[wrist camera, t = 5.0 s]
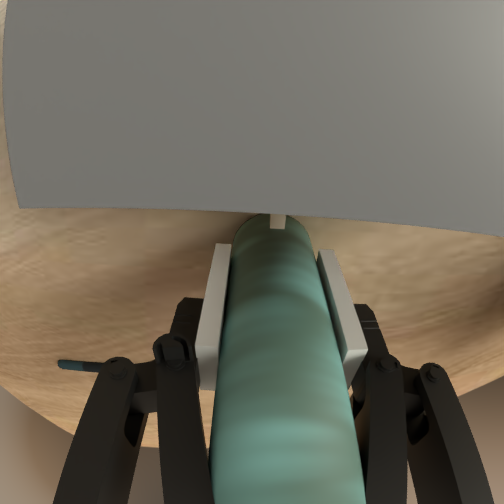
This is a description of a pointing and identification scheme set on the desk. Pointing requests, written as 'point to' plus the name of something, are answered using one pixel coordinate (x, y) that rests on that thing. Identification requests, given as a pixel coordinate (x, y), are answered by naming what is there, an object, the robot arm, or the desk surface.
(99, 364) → the pen
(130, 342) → the desk surface
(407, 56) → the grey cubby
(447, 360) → the desk surface
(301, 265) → the tethered cylinder
